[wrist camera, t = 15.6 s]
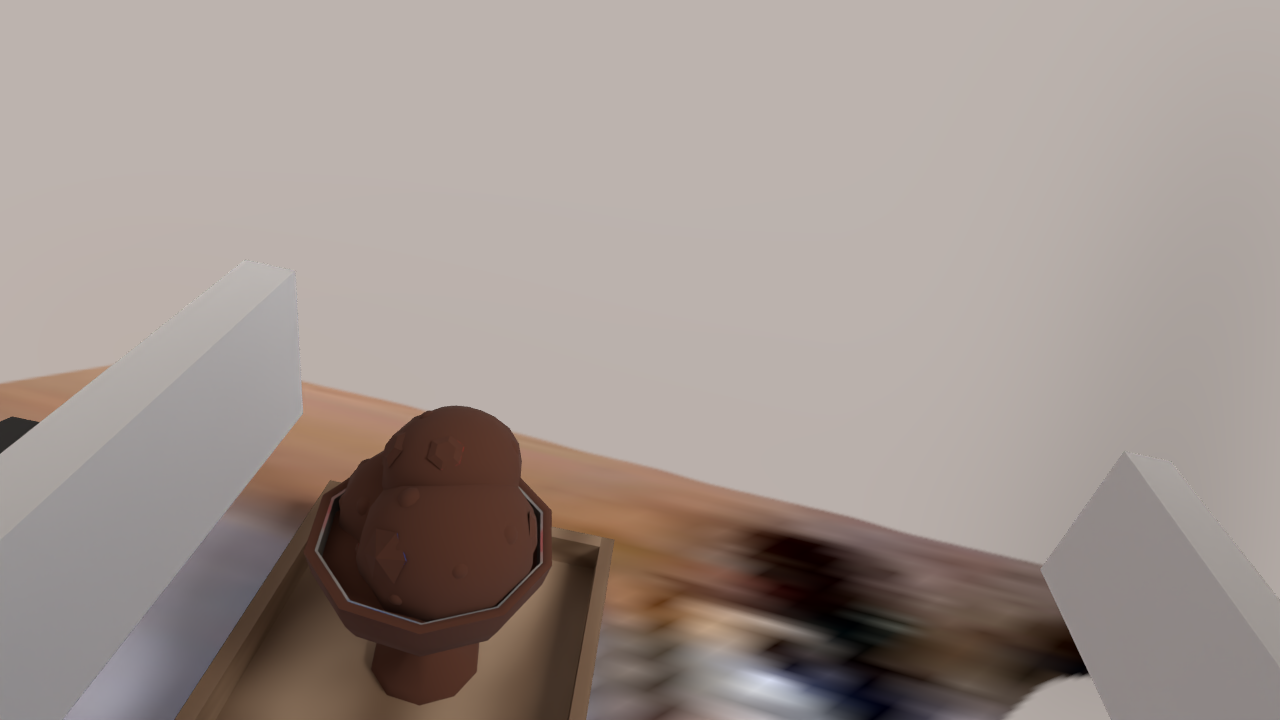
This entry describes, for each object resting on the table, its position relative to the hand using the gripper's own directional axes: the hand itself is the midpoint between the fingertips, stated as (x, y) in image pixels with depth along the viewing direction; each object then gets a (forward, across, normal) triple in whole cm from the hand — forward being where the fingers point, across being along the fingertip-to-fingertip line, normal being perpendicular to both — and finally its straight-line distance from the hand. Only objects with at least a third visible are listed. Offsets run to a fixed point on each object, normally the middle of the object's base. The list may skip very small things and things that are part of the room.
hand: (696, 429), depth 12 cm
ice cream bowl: (+15, -8, -29) cm, 34 cm away
